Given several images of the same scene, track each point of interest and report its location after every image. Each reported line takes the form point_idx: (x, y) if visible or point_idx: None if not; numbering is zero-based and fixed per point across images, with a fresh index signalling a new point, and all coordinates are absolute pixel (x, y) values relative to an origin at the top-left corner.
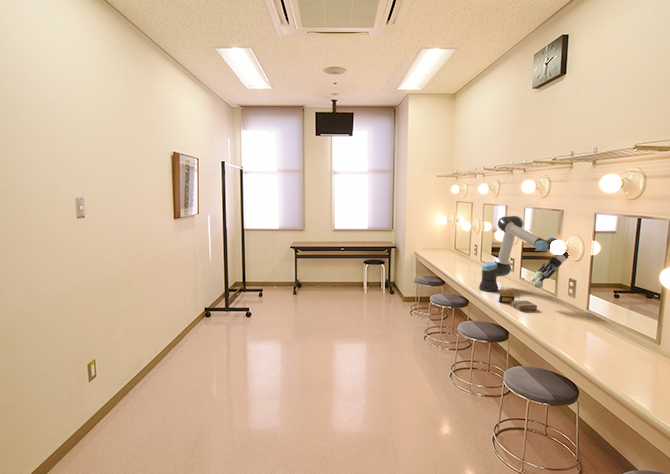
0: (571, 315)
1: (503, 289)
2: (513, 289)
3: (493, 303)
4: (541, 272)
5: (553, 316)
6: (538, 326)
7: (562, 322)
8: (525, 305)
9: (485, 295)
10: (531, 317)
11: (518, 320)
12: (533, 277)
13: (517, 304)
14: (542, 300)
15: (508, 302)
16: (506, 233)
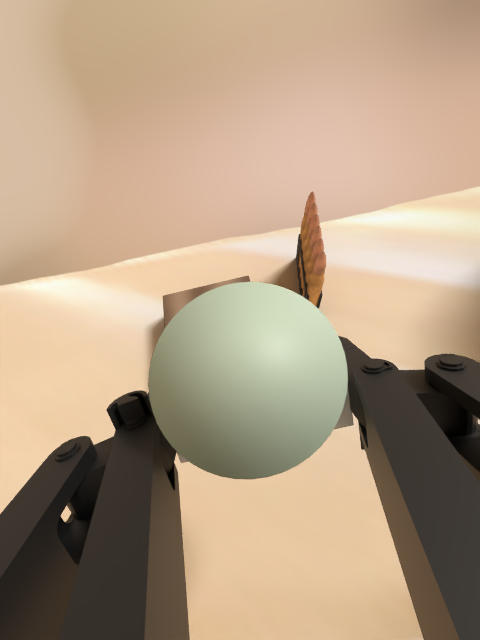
0: None
1: (308, 213)
2: (316, 261)
3: (278, 234)
4: (222, 405)
5: None
6: (3, 324)
7: (6, 452)
8: (169, 319)
9: (412, 221)
10: (94, 331)
11: (73, 276)
12: None
13: (190, 290)
14: None
15: (300, 290)
16: None
